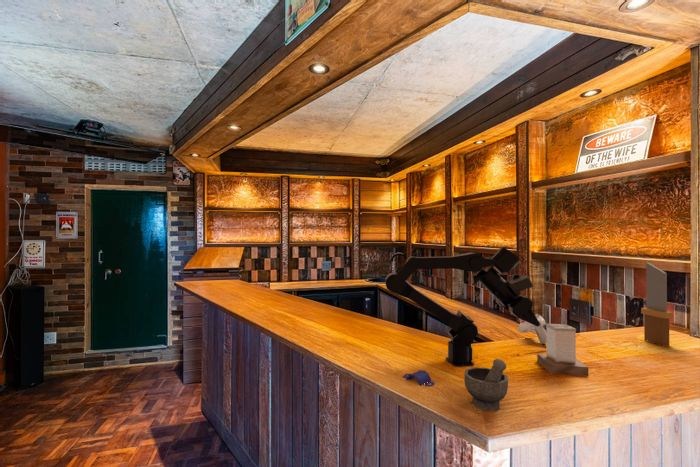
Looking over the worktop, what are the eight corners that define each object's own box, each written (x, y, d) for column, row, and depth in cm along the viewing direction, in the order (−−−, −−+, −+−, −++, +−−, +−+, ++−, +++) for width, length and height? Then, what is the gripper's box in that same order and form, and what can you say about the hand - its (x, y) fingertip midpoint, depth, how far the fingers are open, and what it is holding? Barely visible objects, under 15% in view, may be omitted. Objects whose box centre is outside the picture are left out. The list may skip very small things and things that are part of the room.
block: (550, 375, 100) (550, 365, 100) (537, 363, 110) (537, 353, 110) (588, 377, 99) (588, 367, 99) (571, 364, 109) (571, 355, 109)
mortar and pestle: (456, 397, 85) (456, 347, 85) (490, 393, 87) (490, 345, 87) (484, 420, 74) (484, 364, 74) (522, 415, 76) (522, 360, 76)
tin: (555, 362, 102) (555, 328, 102) (546, 356, 108) (546, 323, 108) (576, 363, 102) (576, 328, 102) (565, 356, 107) (565, 324, 108)
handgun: (553, 342, 124) (548, 311, 129) (542, 341, 125) (538, 310, 129) (527, 350, 142) (523, 323, 147) (517, 349, 142) (514, 322, 147)
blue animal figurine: (438, 385, 93) (438, 375, 93) (428, 390, 90) (428, 380, 90) (409, 374, 100) (410, 365, 100) (399, 379, 97) (399, 369, 97)
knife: (641, 339, 135) (641, 262, 135) (649, 339, 135) (649, 262, 136) (664, 346, 126) (663, 264, 127) (672, 346, 127) (672, 264, 127)
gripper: (525, 269, 98) (568, 310, 96) (505, 264, 116) (541, 298, 114) (496, 296, 99) (537, 337, 97) (481, 287, 117) (515, 321, 116)
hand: (533, 321), depth 106 cm, fingers open, 9 cm apart
